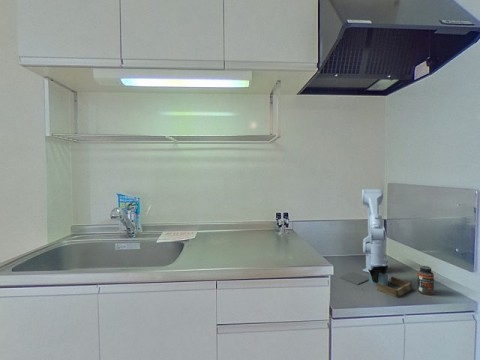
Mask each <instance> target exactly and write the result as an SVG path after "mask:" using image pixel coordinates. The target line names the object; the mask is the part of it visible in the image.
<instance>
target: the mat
mask: <svg viewBox="0 0 480 360" xmlns="http://www.w3.org/2000/svg"><path fill="white" fill-rule="evenodd" d="M339 279H341V280H344V281H347V282H349V283H352V284H354V285H357V286H359V285H361V284H363V283H366V282H369V276H367V275H363V274H360V273H359V272H358V273H357V272H355V271H352V272H349V273H347V274H345V275H342V276H339Z"/></svg>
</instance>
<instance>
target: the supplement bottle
mask: <svg viewBox="0 0 480 360" xmlns="http://www.w3.org/2000/svg"><path fill="white" fill-rule="evenodd" d="M434 276H435V275H434V273H433V272H432V268H431V267H430V266H428V265H421V266H419V270H417V282H416V283H417V287H416V288H417V292H418V293H420V294H422V295H425V296H431V295H434V291H435V289H434V288H435V277H434Z"/></svg>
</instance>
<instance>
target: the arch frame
mask: <svg viewBox="0 0 480 360" xmlns="http://www.w3.org/2000/svg"><path fill="white" fill-rule="evenodd" d="M390 284H391V285H395V286H397V288H392V287H391V286H389V285H388V286H385V285H382V284H379V283H377V285H376V290H377V291H379V292H382V293H384V294H386V295H389V296H392V297H394V298H400V297H401V296H403V295H404V294H407V293H408V292H410V291H412V290H413V289H412V288H413V286H412V285H413V283H412V282H409V281H406V280H403V279H400V278H397V277H393V276H391V277H390ZM398 287H399V288H398Z"/></svg>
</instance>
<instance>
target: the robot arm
mask: <svg viewBox="0 0 480 360" xmlns="http://www.w3.org/2000/svg"><path fill="white" fill-rule="evenodd" d="M383 192H384V191H383V189H381V188H377V189H375V188H373V189H371V188H363V189H362V190H361V202H362V205H364V206H366V211H367V233H368V235H367V236H366V237H364V238H363V240H362V252H363V254H365V268H362V272H366V273H369V272H370V274H371V277H372V281H373V282H375V283H378V277H379V273H383V274H386V272H387V270H388V268H389V266H388V263H389V259H386V258H385V241H386V238H387V234H386V233H387V232H386V229H385V225H384V224H383V216H382V215H381V214H380V212H379V211H380V210H379V209H380V208H379V206H381V204H382V202H383V200H384V193H383Z"/></svg>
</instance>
